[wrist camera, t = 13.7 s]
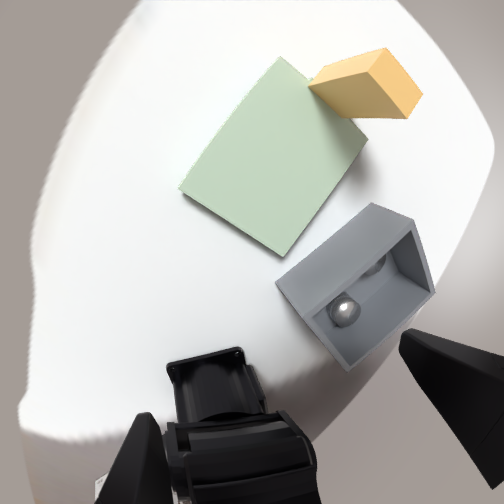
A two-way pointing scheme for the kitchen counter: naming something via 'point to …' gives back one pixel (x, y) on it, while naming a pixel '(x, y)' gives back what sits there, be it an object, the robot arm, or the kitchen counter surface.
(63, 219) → the kitchen counter surface
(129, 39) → the kitchen counter surface
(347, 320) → the grey metallic ball
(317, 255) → the tub
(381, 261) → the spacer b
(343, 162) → the lid
